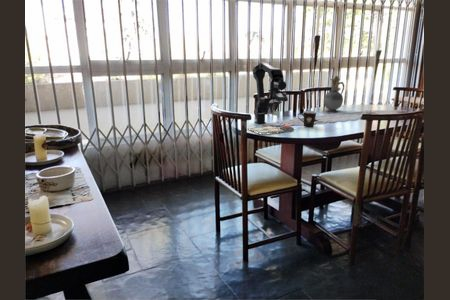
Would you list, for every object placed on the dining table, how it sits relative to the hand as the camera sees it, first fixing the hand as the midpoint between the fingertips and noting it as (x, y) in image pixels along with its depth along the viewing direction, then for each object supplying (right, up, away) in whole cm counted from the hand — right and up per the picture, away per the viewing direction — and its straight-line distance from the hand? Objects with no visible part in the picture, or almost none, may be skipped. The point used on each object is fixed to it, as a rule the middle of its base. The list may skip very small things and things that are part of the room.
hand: (273, 112), depth 213 cm
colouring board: (-5, -12, -2) cm, 14 cm away
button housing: (+9, -12, 0) cm, 15 cm away
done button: (+9, -11, -1) cm, 14 cm away
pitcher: (+62, +9, +68) cm, 92 cm away
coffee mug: (+25, -8, +12) cm, 29 cm away
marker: (0, -1, 0) cm, 1 cm away
